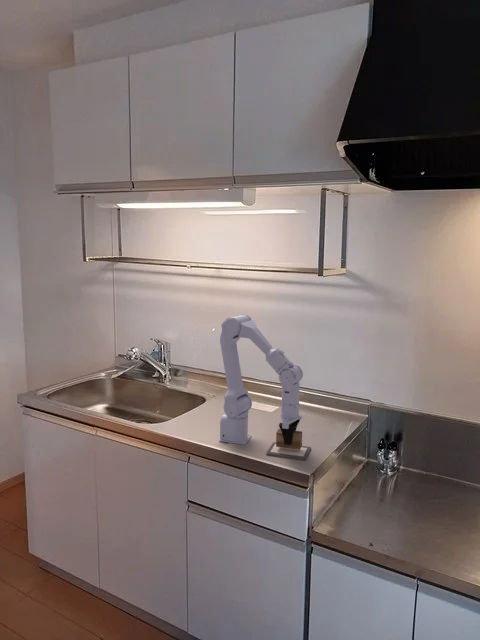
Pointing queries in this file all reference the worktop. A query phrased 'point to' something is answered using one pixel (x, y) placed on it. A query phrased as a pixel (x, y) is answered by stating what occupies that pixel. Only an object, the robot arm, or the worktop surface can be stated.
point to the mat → (289, 452)
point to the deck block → (295, 441)
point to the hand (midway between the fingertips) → (289, 442)
